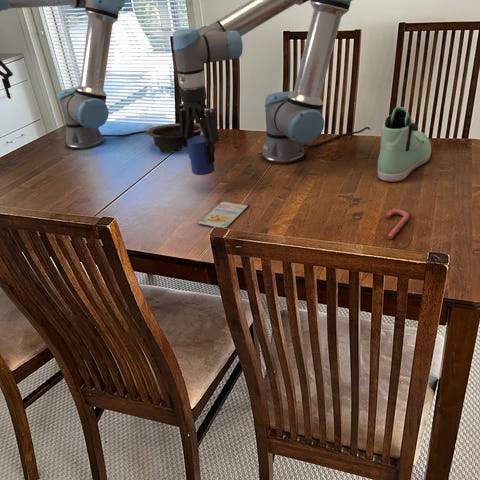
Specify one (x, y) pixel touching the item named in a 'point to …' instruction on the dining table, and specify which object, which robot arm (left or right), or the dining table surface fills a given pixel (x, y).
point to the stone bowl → (170, 137)
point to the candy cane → (399, 221)
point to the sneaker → (401, 146)
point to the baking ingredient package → (223, 214)
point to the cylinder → (199, 156)
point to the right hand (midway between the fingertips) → (202, 160)
